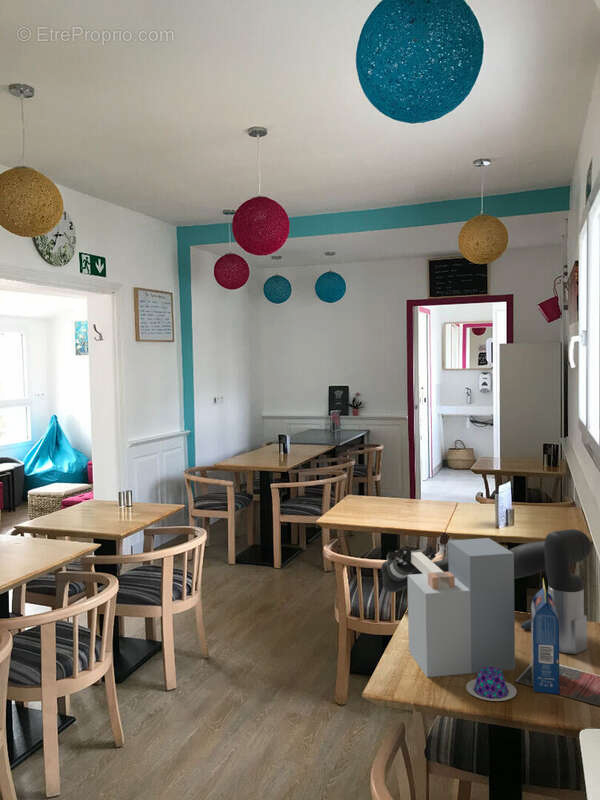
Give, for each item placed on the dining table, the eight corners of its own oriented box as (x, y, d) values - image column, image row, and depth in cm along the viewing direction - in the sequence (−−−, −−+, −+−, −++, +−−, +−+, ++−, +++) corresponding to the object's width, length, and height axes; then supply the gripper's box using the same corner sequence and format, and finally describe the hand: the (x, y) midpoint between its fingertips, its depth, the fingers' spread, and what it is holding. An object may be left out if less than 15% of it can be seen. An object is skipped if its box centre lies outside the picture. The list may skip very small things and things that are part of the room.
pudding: (463, 700, 164) (463, 678, 163) (468, 678, 175) (468, 658, 175) (515, 707, 160) (515, 685, 160) (517, 683, 171) (516, 663, 171)
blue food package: (556, 672, 176) (555, 578, 175) (560, 694, 164) (559, 593, 163) (531, 670, 178) (530, 576, 176) (532, 691, 166) (531, 591, 165)
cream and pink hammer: (454, 587, 178) (454, 576, 178) (432, 588, 178) (432, 577, 178) (425, 561, 202) (425, 551, 202) (406, 562, 201) (406, 552, 201)
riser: (515, 669, 178) (513, 553, 177) (427, 677, 175) (425, 559, 174) (490, 644, 194) (488, 538, 193) (408, 651, 191) (406, 543, 190)
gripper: (380, 553, 216) (391, 539, 202) (423, 550, 218) (437, 536, 203) (383, 577, 213) (395, 564, 198) (427, 574, 214) (442, 561, 200)
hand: (416, 550), depth 201 cm, fingers open, 8 cm apart
